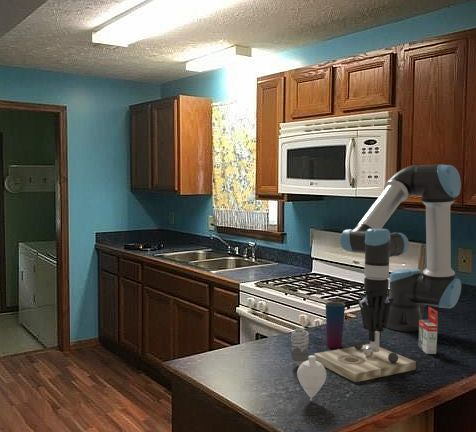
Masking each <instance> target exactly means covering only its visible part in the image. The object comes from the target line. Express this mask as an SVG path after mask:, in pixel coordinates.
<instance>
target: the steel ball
mask: <svg viewBox="0 0 476 432" xmlns="http://www.w3.org/2000/svg"><path fill="white" fill-rule="evenodd" d="M363 352H364V355H365V356H367V357H371V356H373V354H374V350H373V349H372V348H371V347H366V348H364V351H363Z"/></svg>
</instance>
